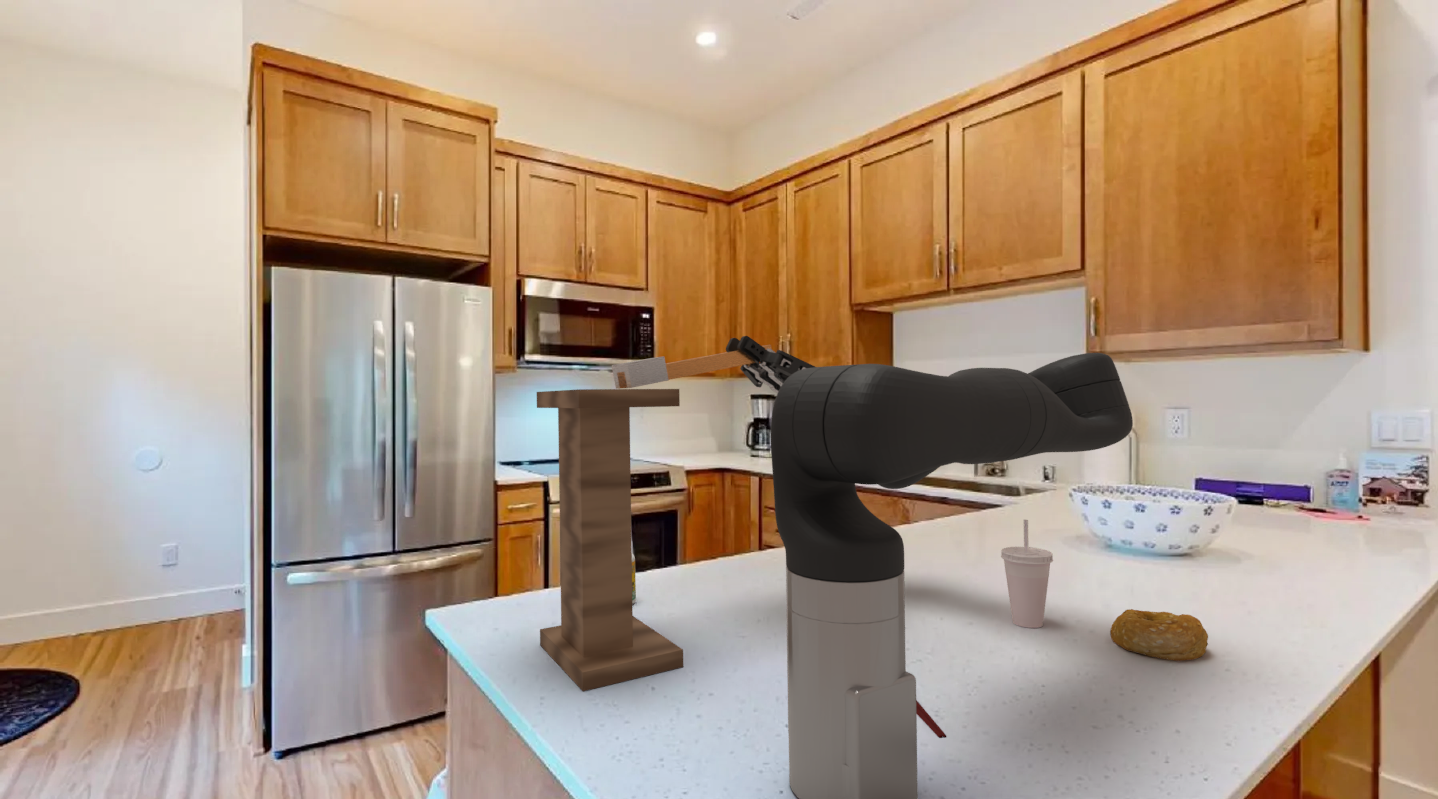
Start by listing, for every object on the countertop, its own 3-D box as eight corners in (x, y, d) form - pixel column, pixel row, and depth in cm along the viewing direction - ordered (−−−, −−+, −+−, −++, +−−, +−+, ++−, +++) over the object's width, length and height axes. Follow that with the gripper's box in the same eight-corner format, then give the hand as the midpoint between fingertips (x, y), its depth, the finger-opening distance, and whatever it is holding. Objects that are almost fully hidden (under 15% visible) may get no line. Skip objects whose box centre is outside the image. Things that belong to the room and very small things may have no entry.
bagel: (1202, 639, 84) (1201, 601, 84) (1214, 672, 75) (1212, 629, 75) (1110, 628, 89) (1109, 592, 89) (1110, 657, 80) (1109, 617, 80)
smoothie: (999, 627, 89) (998, 521, 89) (1004, 613, 95) (1002, 514, 95) (1053, 634, 86) (1051, 525, 86) (1054, 619, 92) (1053, 517, 92)
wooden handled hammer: (778, 358, 92) (775, 336, 91) (631, 387, 81) (627, 362, 80) (758, 360, 96) (754, 339, 96) (615, 388, 85) (611, 365, 85)
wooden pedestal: (683, 666, 78) (679, 388, 78) (582, 691, 71) (578, 389, 71) (628, 627, 91) (624, 391, 91) (540, 645, 85) (536, 391, 85)
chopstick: (936, 743, 61) (936, 732, 61) (849, 646, 84) (849, 638, 84) (956, 741, 61) (956, 730, 61) (865, 645, 85) (864, 637, 85)
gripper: (803, 383, 106) (720, 324, 98) (865, 380, 94) (775, 312, 86) (784, 425, 104) (698, 368, 96) (845, 428, 92) (752, 363, 84)
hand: (735, 342), depth 91 cm, fingers closed on wooden handled hammer, 2 cm apart
